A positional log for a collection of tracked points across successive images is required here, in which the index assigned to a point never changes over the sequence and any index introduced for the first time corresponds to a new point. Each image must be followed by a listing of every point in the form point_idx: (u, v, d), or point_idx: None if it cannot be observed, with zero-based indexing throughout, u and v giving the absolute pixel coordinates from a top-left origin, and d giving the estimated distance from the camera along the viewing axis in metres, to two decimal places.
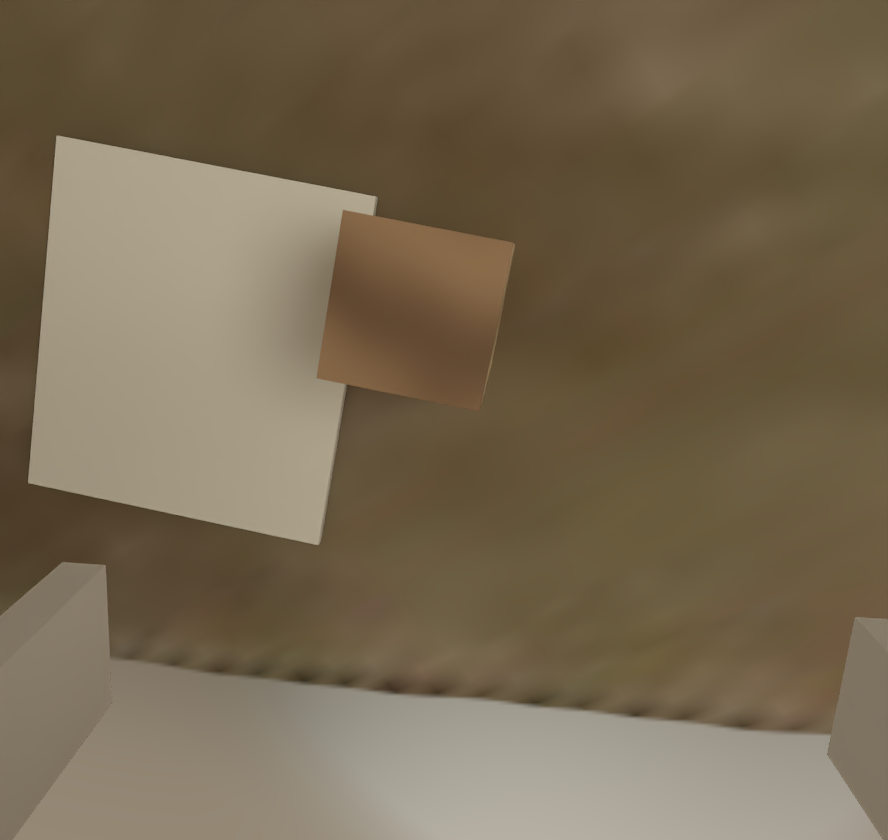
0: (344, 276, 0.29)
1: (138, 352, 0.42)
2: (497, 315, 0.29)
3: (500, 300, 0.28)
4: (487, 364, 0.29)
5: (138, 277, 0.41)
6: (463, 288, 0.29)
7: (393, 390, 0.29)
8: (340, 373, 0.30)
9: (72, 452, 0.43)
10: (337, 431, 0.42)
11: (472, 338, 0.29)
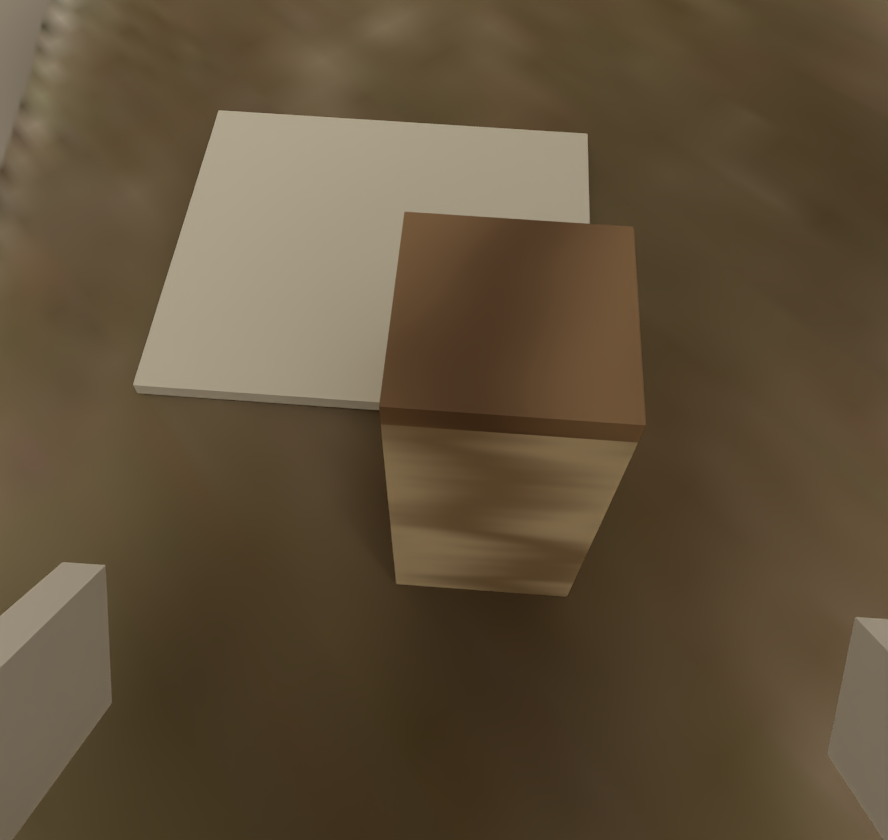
0: (548, 233, 0.21)
1: (373, 199, 0.37)
2: (533, 415, 0.18)
3: (556, 417, 0.18)
4: (454, 410, 0.18)
5: (456, 197, 0.37)
6: (563, 368, 0.19)
7: (398, 297, 0.20)
8: (414, 236, 0.21)
9: (254, 145, 0.39)
10: (291, 398, 0.32)
11: (491, 386, 0.19)
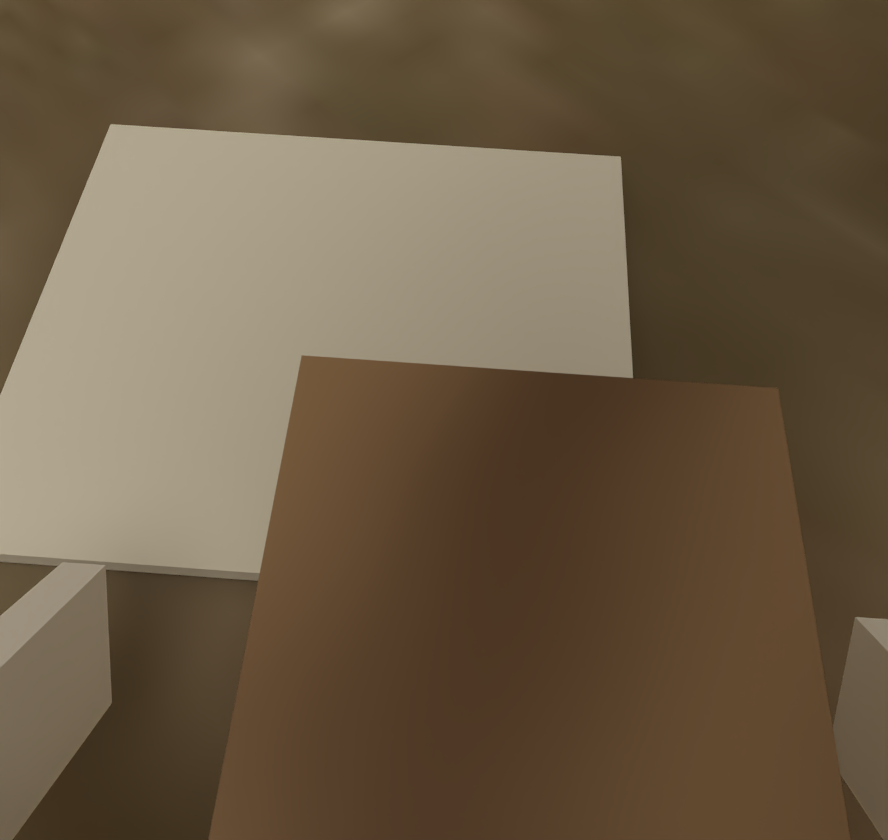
0: (600, 404, 0.10)
1: (319, 251, 0.26)
2: None
3: None
4: None
5: (438, 249, 0.26)
6: (651, 773, 0.08)
7: (272, 569, 0.09)
8: (319, 414, 0.10)
9: (156, 173, 0.28)
10: (180, 569, 0.21)
11: (479, 833, 0.08)
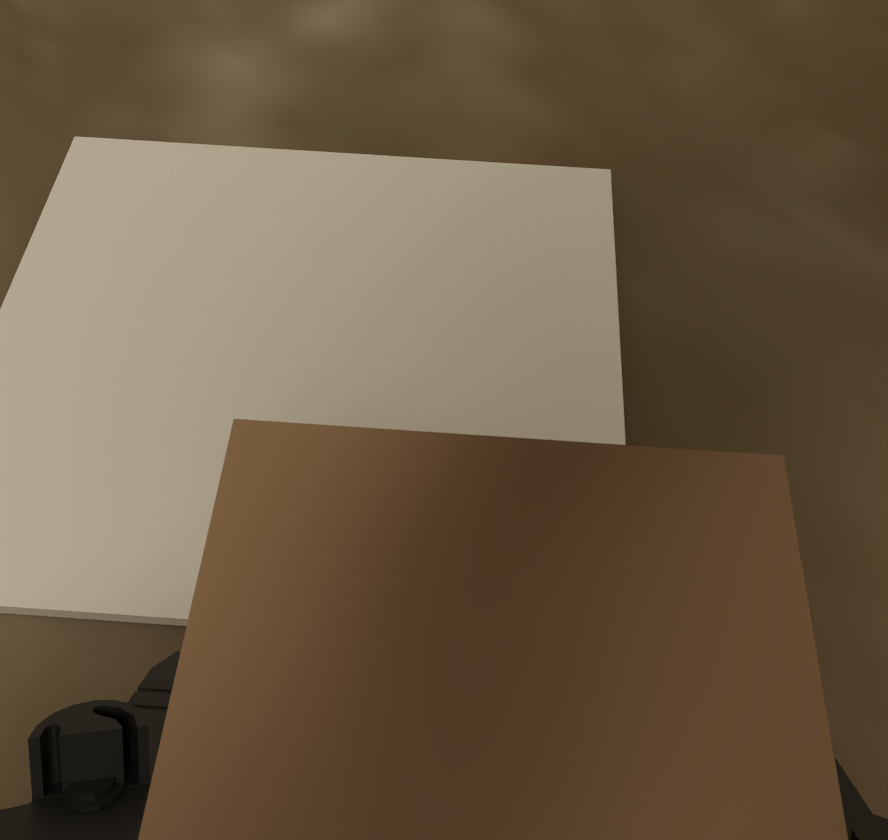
0: (578, 476, 0.09)
1: (292, 271, 0.25)
2: None
3: None
4: None
5: (418, 269, 0.25)
6: None
7: (187, 684, 0.08)
8: (251, 490, 0.09)
9: (121, 188, 0.26)
10: (138, 617, 0.20)
11: None
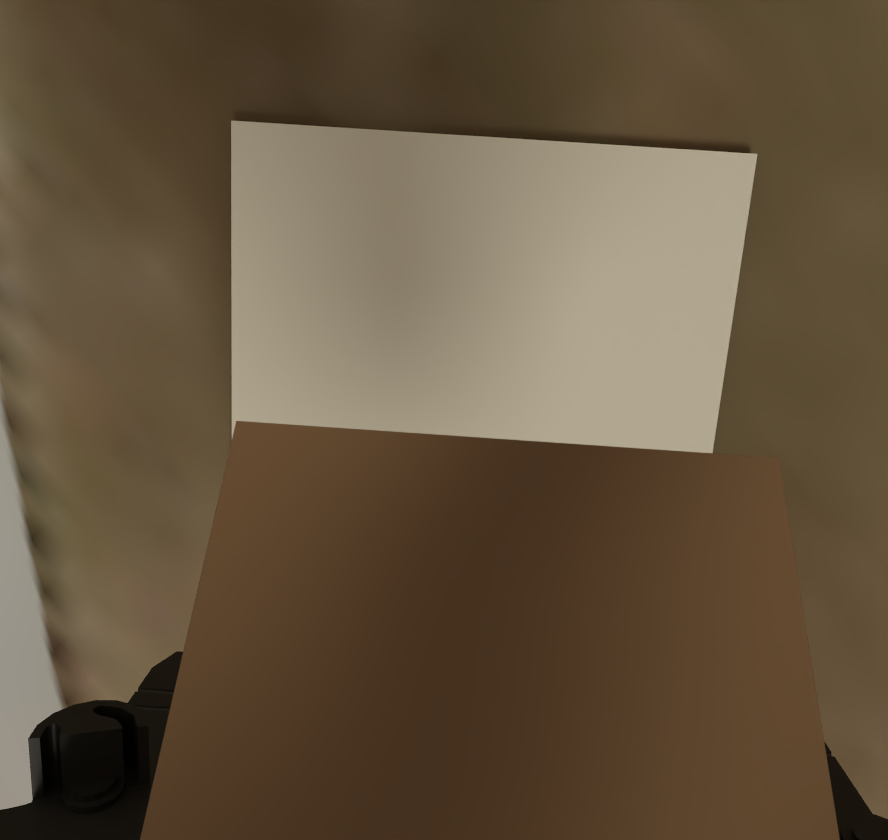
0: (576, 478, 0.09)
1: (459, 290, 0.29)
2: None
3: None
4: None
5: (565, 285, 0.29)
6: None
7: (189, 681, 0.08)
8: (253, 491, 0.09)
9: (293, 193, 0.29)
10: None
11: None
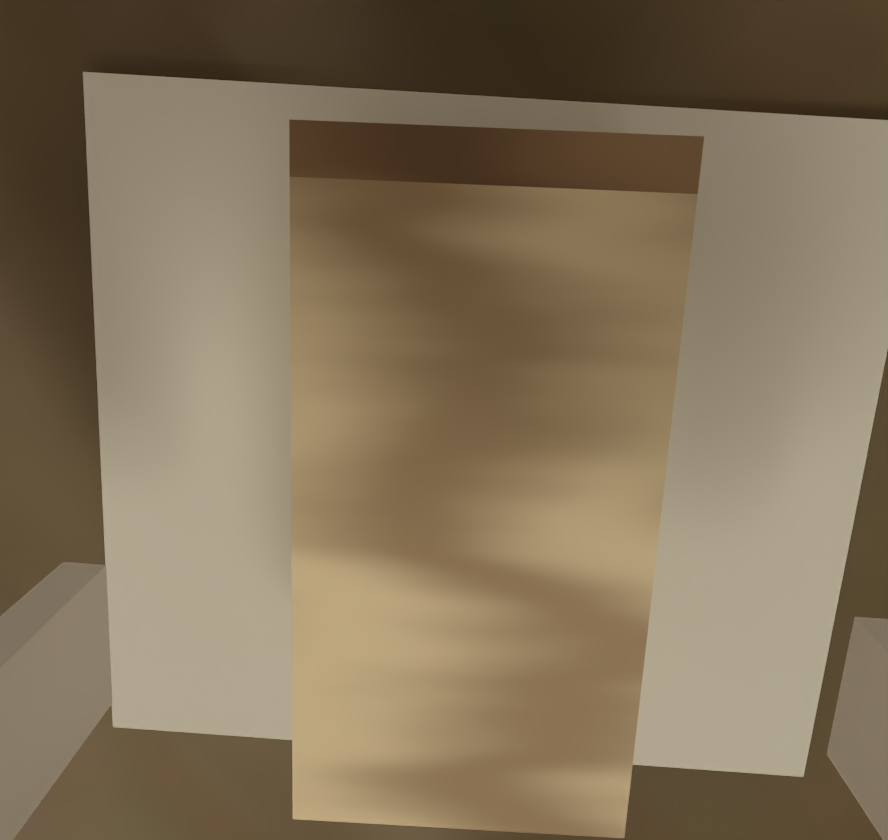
0: None
1: None
2: None
3: (564, 131, 0.12)
4: (406, 125, 0.12)
5: None
6: None
7: None
8: None
9: (186, 188, 0.18)
10: None
11: None
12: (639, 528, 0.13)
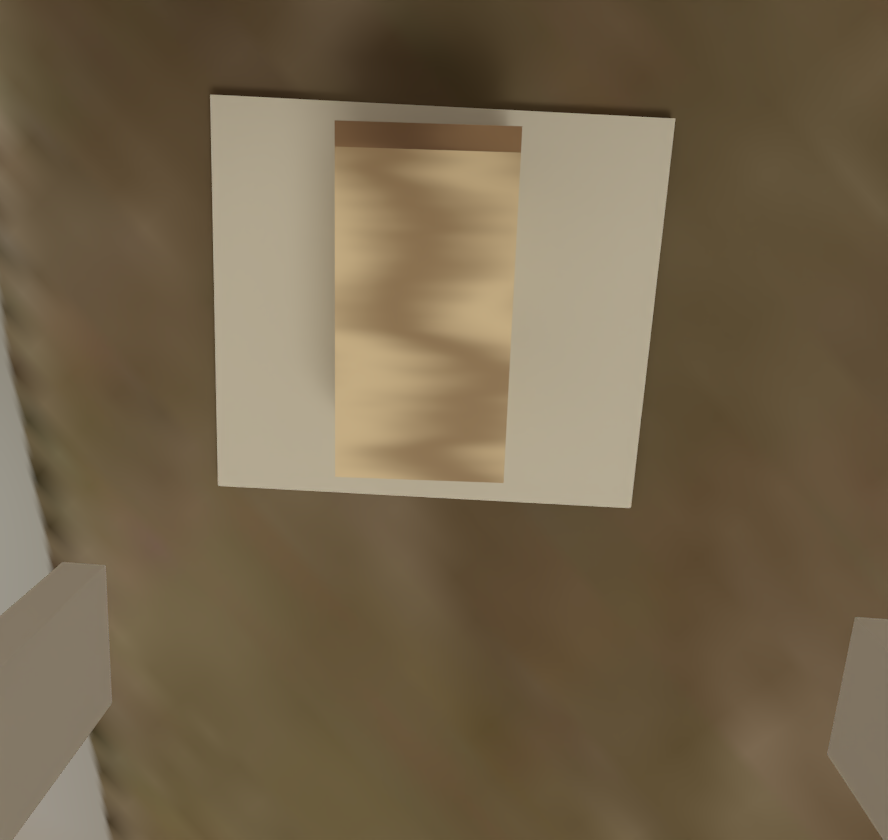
0: None
1: None
2: None
3: (459, 124, 0.26)
4: (388, 122, 0.26)
5: None
6: None
7: None
8: None
9: (266, 158, 0.32)
10: (360, 492, 0.36)
11: None
12: (502, 315, 0.28)
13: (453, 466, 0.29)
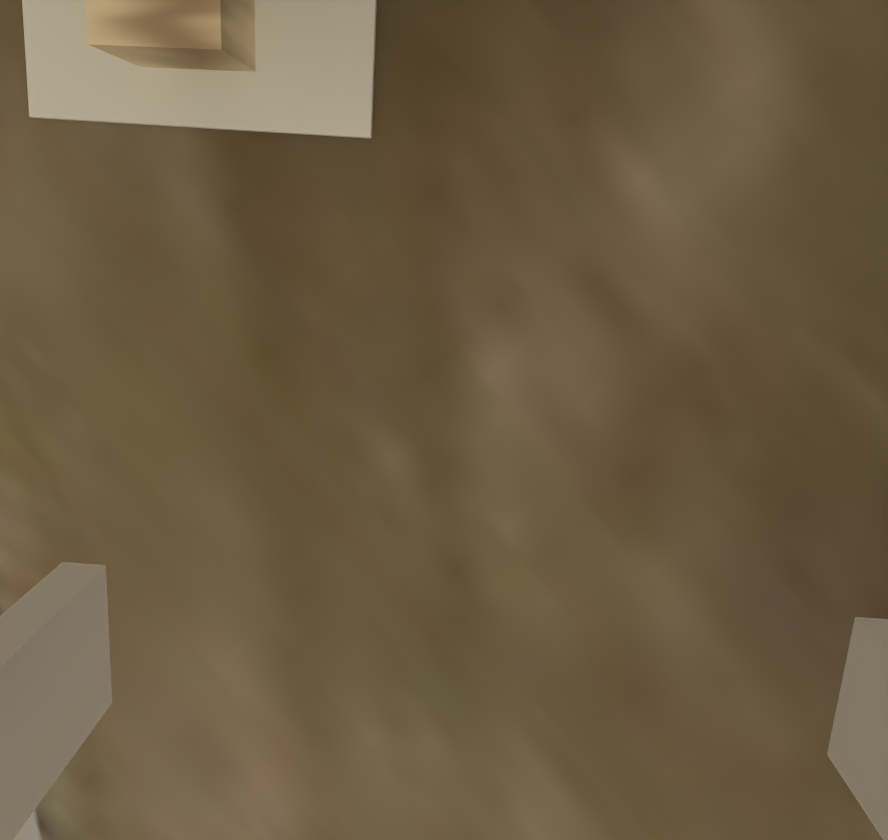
0: None
1: None
2: None
3: None
4: None
5: None
6: None
7: None
8: None
9: None
10: (147, 124, 0.43)
11: None
12: None
13: (180, 34, 0.36)
